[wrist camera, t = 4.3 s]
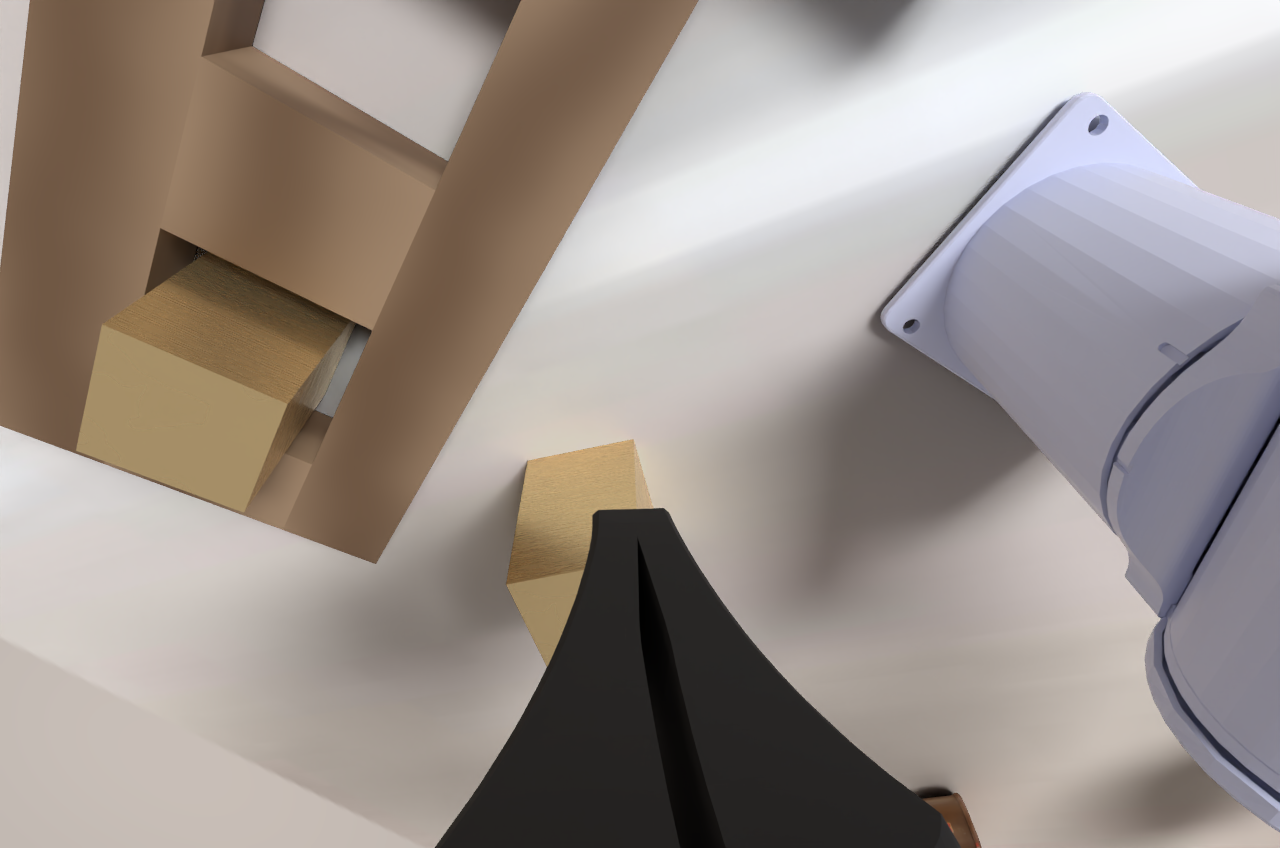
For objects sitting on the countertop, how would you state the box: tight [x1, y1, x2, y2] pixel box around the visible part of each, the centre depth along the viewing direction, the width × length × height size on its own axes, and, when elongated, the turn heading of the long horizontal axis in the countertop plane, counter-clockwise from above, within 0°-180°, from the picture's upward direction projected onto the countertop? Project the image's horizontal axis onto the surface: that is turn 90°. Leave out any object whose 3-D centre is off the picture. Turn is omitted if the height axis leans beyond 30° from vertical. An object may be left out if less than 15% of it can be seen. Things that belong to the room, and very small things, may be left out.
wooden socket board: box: [0, 0, 698, 564], centre depth 18 cm, size 12×22×2 cm, turn 148°
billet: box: [76, 251, 356, 513], centre depth 19 cm, size 4×4×6 cm
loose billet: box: [506, 439, 653, 666], centre depth 23 cm, size 4×4×6 cm
